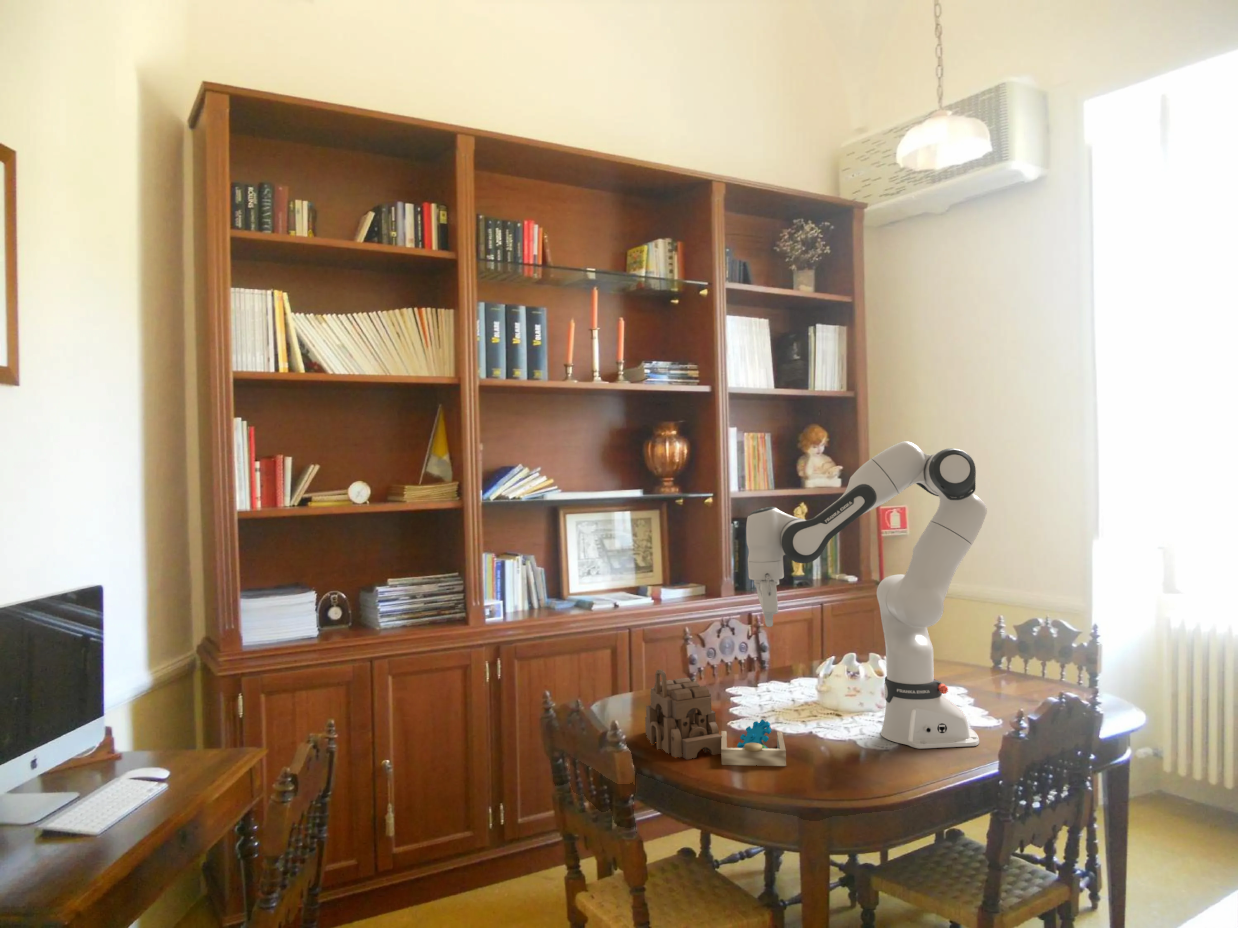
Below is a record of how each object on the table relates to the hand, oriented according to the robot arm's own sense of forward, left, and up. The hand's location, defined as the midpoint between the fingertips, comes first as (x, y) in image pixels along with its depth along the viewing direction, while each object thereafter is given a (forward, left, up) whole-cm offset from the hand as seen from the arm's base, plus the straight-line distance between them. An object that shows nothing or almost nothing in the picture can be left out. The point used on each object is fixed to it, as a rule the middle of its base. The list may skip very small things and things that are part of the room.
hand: (769, 625), depth 221 cm
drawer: (+5, +20, -27) cm, 34 cm away
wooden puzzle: (+22, +11, -27) cm, 37 cm away
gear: (+5, +18, -27) cm, 33 cm away
